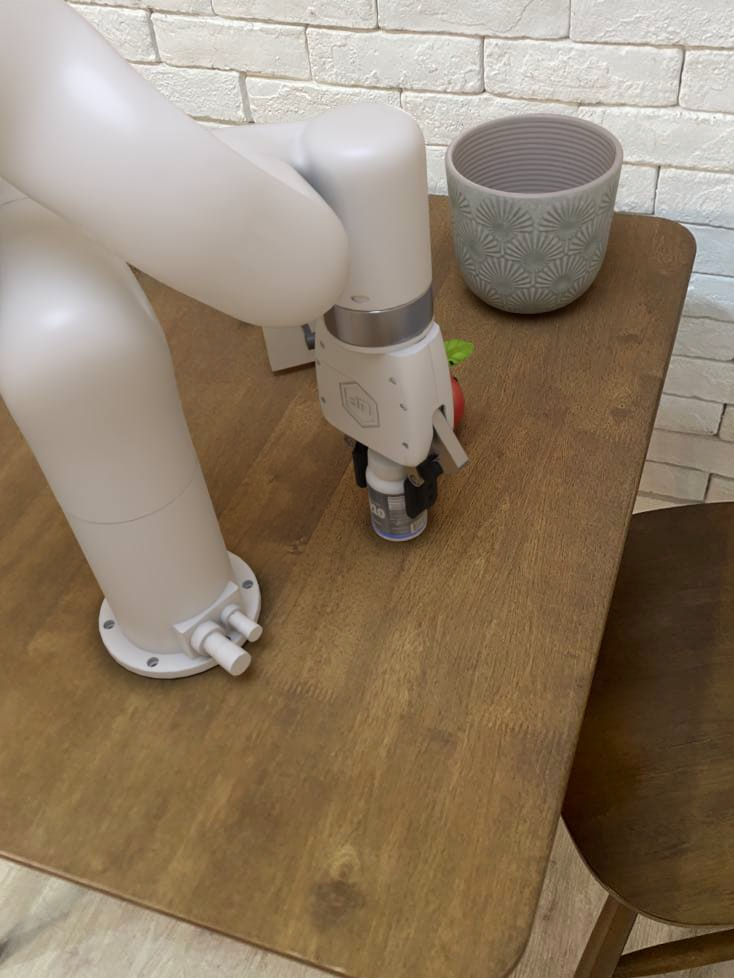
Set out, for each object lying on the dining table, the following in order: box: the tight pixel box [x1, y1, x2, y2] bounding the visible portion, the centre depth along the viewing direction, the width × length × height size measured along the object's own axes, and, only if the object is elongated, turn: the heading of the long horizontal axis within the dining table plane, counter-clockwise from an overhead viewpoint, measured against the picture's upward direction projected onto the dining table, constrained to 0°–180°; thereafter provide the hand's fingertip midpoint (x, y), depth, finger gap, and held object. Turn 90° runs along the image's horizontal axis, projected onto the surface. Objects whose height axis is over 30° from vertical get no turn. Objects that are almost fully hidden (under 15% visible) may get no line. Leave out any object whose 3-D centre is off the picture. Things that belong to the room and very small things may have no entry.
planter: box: [444, 112, 625, 315], centre depth 95 cm, size 17×17×15 cm
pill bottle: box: [366, 448, 428, 542], centre depth 76 cm, size 5×5×8 cm
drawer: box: [261, 319, 317, 372], centre depth 94 cm, size 20×13×9 cm, turn 18°
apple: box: [443, 338, 475, 431], centre depth 83 cm, size 8×7×10 cm
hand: (396, 491), depth 76 cm, fingers closed on pill bottle, 4 cm apart
